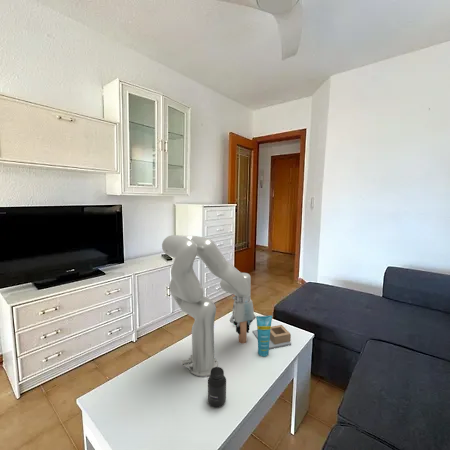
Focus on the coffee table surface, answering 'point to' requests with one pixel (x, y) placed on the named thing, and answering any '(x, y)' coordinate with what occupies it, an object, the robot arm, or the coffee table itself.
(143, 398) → the coffee table surface
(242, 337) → the peg
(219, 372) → the supplement bottle
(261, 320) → the tube
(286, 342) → the socket board
